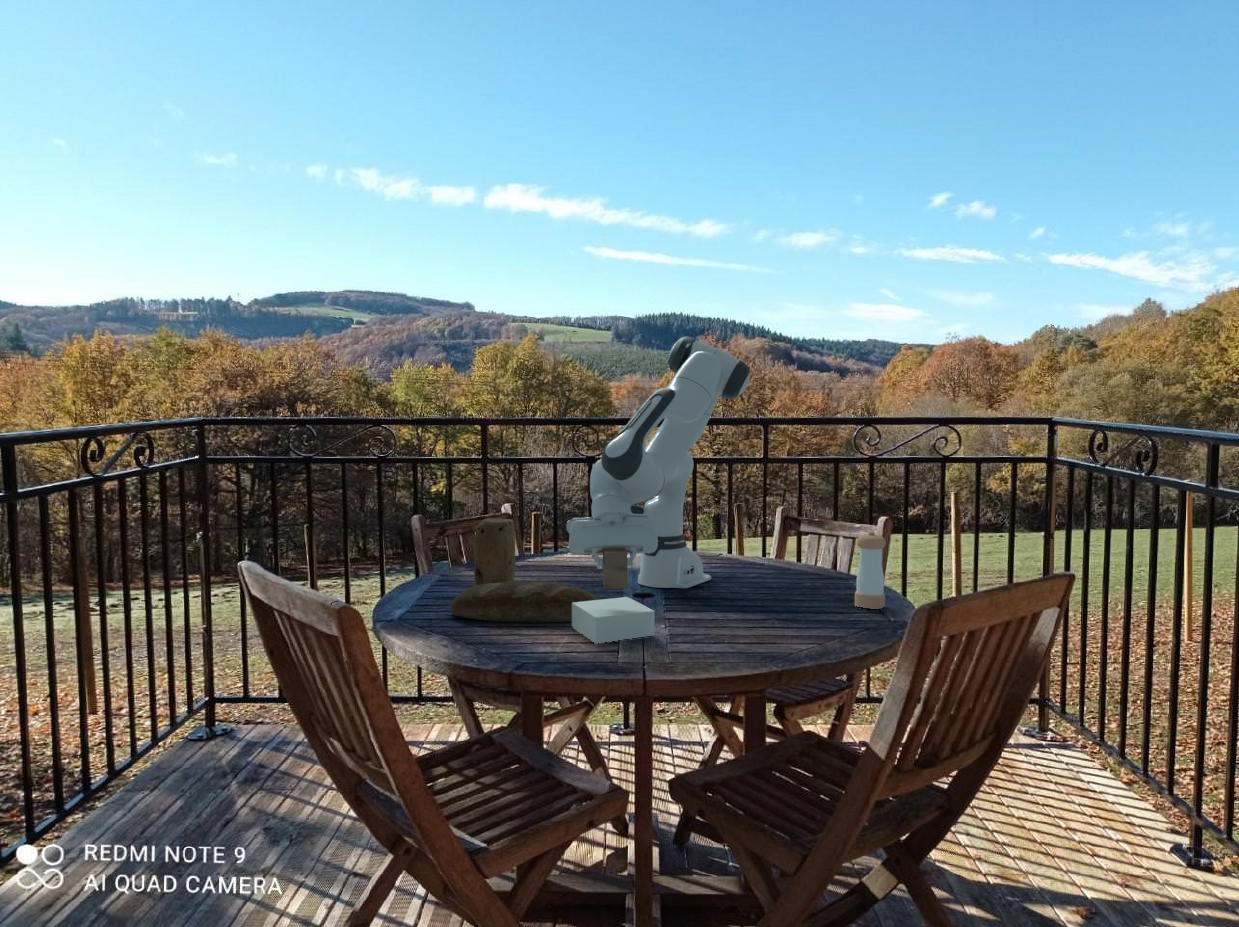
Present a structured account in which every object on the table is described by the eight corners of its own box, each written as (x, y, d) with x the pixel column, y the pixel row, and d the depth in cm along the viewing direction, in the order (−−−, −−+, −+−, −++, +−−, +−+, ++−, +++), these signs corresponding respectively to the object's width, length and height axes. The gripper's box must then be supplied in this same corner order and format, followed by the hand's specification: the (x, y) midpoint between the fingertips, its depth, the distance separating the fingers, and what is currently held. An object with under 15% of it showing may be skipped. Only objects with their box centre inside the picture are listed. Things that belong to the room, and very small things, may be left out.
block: (517, 590, 216) (516, 517, 215) (510, 596, 209) (510, 521, 207) (478, 588, 217) (478, 517, 216) (470, 595, 210) (469, 520, 208)
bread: (460, 606, 199) (460, 574, 198) (604, 609, 196) (604, 576, 196) (443, 623, 183) (442, 588, 182) (598, 626, 181) (599, 590, 180)
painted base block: (627, 621, 185) (627, 596, 185) (654, 637, 173) (654, 610, 172) (571, 628, 180) (571, 602, 179) (595, 645, 167) (595, 617, 166)
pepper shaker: (886, 611, 195) (888, 534, 194) (855, 609, 196) (857, 533, 195) (882, 603, 202) (884, 529, 201) (853, 602, 203) (855, 528, 202)
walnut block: (602, 583, 177) (602, 548, 177) (624, 583, 178) (624, 548, 177) (604, 588, 172) (604, 552, 172) (627, 588, 173) (627, 551, 172)
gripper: (566, 509, 180) (568, 560, 171) (655, 508, 182) (661, 557, 173) (565, 526, 185) (567, 576, 176) (652, 524, 187) (658, 573, 178)
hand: (615, 567), depth 174 cm, fingers closed on walnut block, 5 cm apart
